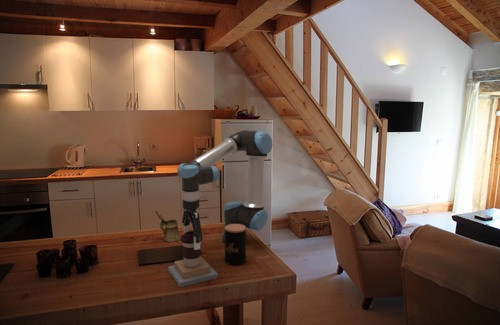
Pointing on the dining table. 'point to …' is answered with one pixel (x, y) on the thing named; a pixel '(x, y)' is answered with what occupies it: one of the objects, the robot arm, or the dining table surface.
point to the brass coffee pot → (169, 229)
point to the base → (191, 280)
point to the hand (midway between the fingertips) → (191, 244)
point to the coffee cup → (190, 250)
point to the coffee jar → (235, 244)
